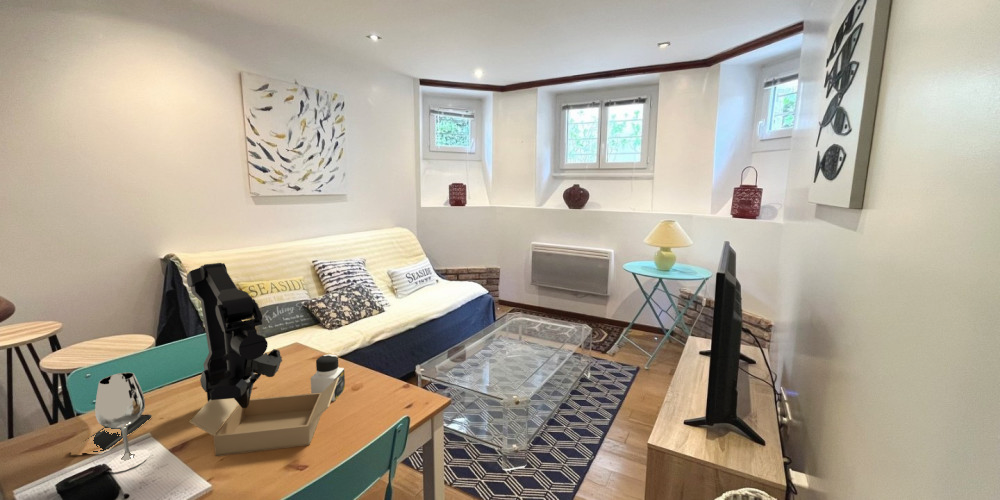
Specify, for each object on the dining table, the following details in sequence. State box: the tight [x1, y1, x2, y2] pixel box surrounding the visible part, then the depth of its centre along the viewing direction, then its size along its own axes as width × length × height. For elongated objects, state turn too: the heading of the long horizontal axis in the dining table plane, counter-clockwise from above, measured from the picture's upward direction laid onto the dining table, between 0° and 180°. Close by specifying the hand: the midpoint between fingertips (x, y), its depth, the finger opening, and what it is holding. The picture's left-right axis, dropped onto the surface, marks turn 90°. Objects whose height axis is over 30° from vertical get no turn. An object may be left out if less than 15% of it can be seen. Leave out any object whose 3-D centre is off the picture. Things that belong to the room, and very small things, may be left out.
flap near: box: [189, 398, 239, 437], centre depth 95 cm, size 6×15×1 cm
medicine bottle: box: [310, 353, 346, 402], centre depth 116 cm, size 7×7×12 cm
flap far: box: [309, 377, 339, 425], centre depth 101 cm, size 6×15×1 cm
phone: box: [84, 414, 153, 452], centre depth 96 cm, size 8×1×15 cm
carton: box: [213, 393, 322, 457], centre depth 99 cm, size 20×16×5 cm
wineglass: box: [94, 371, 146, 461], centre depth 86 cm, size 8×8×20 cm
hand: (245, 407), depth 96 cm, fingers closed
